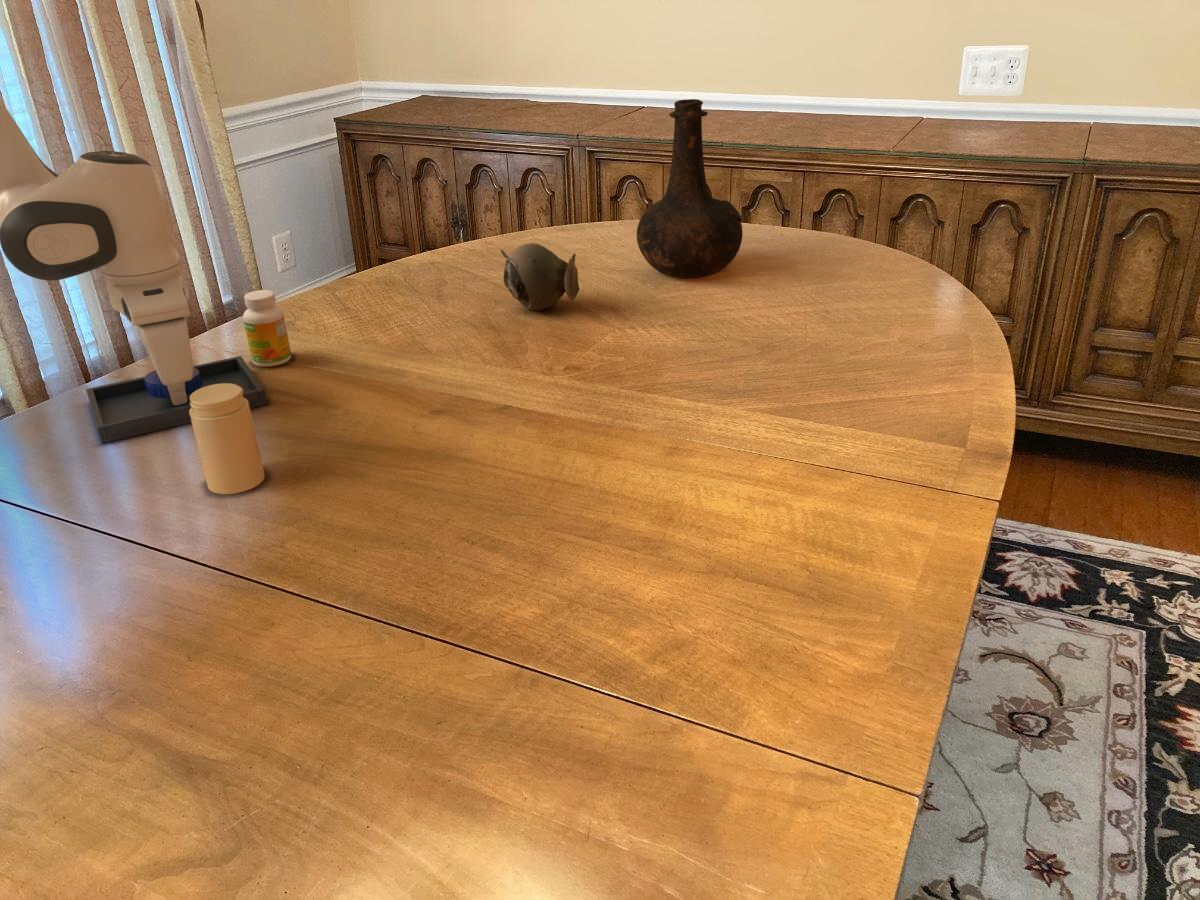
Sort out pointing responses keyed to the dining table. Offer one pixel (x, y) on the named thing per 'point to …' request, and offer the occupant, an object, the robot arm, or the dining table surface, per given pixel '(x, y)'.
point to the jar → (226, 438)
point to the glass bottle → (689, 210)
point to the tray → (162, 401)
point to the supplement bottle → (266, 329)
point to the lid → (161, 391)
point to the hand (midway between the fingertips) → (174, 391)
